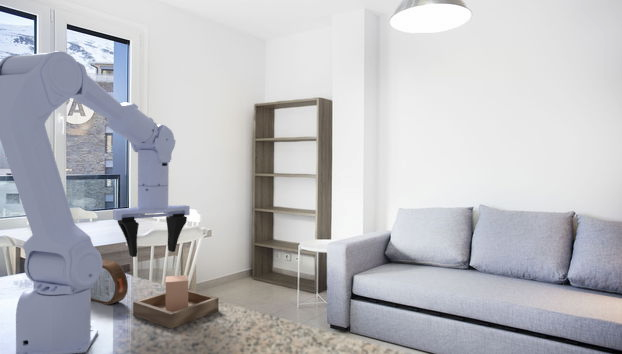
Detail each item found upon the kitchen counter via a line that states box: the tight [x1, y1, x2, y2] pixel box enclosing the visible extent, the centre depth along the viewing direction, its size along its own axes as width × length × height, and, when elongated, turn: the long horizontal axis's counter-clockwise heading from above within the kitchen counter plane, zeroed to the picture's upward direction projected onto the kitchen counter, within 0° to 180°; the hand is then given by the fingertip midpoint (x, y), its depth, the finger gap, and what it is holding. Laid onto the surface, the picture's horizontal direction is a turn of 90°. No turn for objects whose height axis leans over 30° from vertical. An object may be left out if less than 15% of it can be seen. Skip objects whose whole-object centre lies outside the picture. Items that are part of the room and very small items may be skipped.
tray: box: [132, 289, 220, 330], centre depth 80 cm, size 11×11×2 cm
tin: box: [91, 258, 129, 305], centre depth 87 cm, size 15×3×8 cm, turn 61°
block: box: [165, 274, 189, 312], centre depth 80 cm, size 4×4×6 cm
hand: (152, 253), depth 84 cm, fingers open, 7 cm apart
